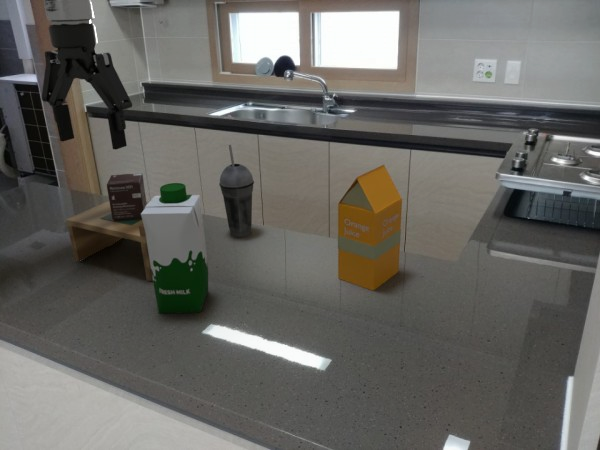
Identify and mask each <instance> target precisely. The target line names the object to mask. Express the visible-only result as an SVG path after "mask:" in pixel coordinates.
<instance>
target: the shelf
mask: <svg viewBox="0 0 600 450" xmlns="http://www.w3.org/2000/svg"><path fill="white" fill-rule="evenodd" d="M149 202H150V201H147V200H146V203H147V204H148V203H149ZM65 220H66V225H67V230H68V234H69V239H70V245H71V248H72V251H73V257H74V261H75V260H77V261H76V262H78V261H80V260H82V259H84V258H86V257H88V256H90V255H91V256H93V255H95V254H97V253H99V252H101V251H103V250H105V249H106V248H105V247H107V246H108V247H110V246H112V245H114V244H116V243H118V242H120V241H121V240H120V239H122V238H124V239H125V240H130V241H133V242H138V243H140V248H141V254H142V259H143V266H144V272H145V278H146V281H149V282H153V277H152V271H151V265H150V259H149V252H148V246H147V240H146V233H145V228H144V224H143V220H142V218H137V219H126V220H113V219H112V213H111V208H110V202H109V200H107V201H105V202H102V203H101V204H98V205H96V206H93V207H92V208H89V209H87V210H85V211H82V212H80V213H78V214H75V215H73V216H71V217H68V218H66V219H65ZM119 240H120V241H119ZM122 240H123V239H122ZM117 241H118V242H117ZM115 242H116V243H115ZM113 243H114V244H113ZM111 244H112V245H111ZM109 245H110V246H109ZM108 247H107V248H108ZM104 248H105V249H104ZM102 249H103V250H102ZM100 250H101V251H100ZM98 251H99V252H98ZM96 252H97V253H96ZM94 253H95V254H94ZM92 254H93V255H92ZM91 256H90V257H91ZM88 258H89V257H88ZM86 259H87V258H86ZM84 260H85V259H84ZM82 261H83V260H82ZM80 262H81V261H80Z"/></svg>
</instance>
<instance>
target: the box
mask: <svg viewBox="0 0 600 450" xmlns="http://www.w3.org/2000/svg"><path fill="white" fill-rule="evenodd" d="M145 189H146V188H145V182H144V175H143V173H123V174H111V175H110V177H109V179H108V180H107V183H106V190H107V196H108V201H109V202H110V208H111V213H112V219H113V220H126V219H137V218H142V217H141V213H142V212H143V210H144V209H145V206H146V205H147V203H146V201H147V197H146V195H147V194H146V190H145Z"/></svg>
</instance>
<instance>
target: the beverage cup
mask: <svg viewBox="0 0 600 450" xmlns="http://www.w3.org/2000/svg"><path fill="white" fill-rule="evenodd" d="M228 150H229V157H230V164H229V165H227V166H226V167H225V168H224V169H223V170H222V171H221V174H220V177H219V183H218V184H219V187H220V191H221V194H222V197H223V203H224V208H225V214H226V219H227V225H228V229H229V234H230V236H231V237H234V238H246V237H248V236H250V235H251V233H252V225H253V224H252V221H253V217H252V215H253V191H254V183H255V181H254V177H253V175H252V172H251V171H250V169H249V168H248V167H247V166H245V165H243V164H241V163H235V161H234V154H233V148H232V144H229V145H228Z"/></svg>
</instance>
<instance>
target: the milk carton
mask: <svg viewBox="0 0 600 450" xmlns="http://www.w3.org/2000/svg"><path fill="white" fill-rule="evenodd" d="M159 193H160V195H154V196H153V197H152V198H151V200H150V201H148V202H149V203H148V204H147V205H146V206H145V209H144V210H143V212H142V213H141V217H142V220H143V224H144V228H145V233H146V240H147V246H148V252H149V259H150V265H151V271H152V277H153V281H152V283H153V288H154V289H153V290H154V294H155V300H156V305H157V310H158V311H157V312H158V313H159V314H161V313H162V314H164V313H165V314H169V313H173V314H175V313H176V314H177V313H201V312H202V308H203V307H204V303H205V301H206V297H207V295H208V292H209V267H208V266H209V265H208V257H207V247H206V238H205V237H206V236H205V229H204V220H203V212H202V204H201V195H200V194H187V188H186V184H184V183H180V182H172V183H166V184H163V185H161V186H160V187H159Z"/></svg>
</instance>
